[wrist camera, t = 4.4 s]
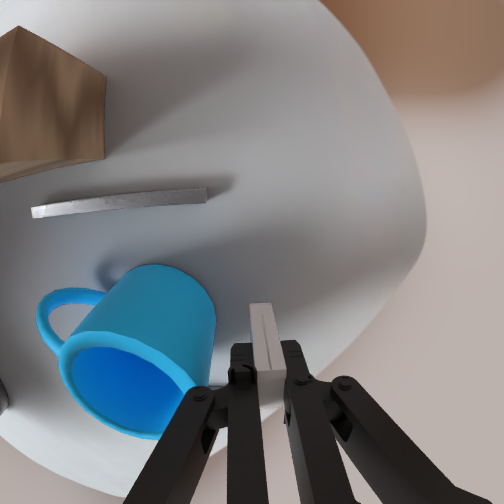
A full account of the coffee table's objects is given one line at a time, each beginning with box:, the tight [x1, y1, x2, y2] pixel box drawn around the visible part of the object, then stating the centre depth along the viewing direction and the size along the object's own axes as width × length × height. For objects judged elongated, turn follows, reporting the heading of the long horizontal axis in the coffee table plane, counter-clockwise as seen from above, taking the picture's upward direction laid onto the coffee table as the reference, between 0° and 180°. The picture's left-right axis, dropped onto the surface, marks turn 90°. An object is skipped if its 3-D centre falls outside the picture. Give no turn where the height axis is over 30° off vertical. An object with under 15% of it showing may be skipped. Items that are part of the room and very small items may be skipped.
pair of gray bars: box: [31, 188, 222, 390], centre depth 18 cm, size 13×17×2 cm
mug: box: [36, 264, 216, 440], centre depth 15 cm, size 12×8×8 cm
